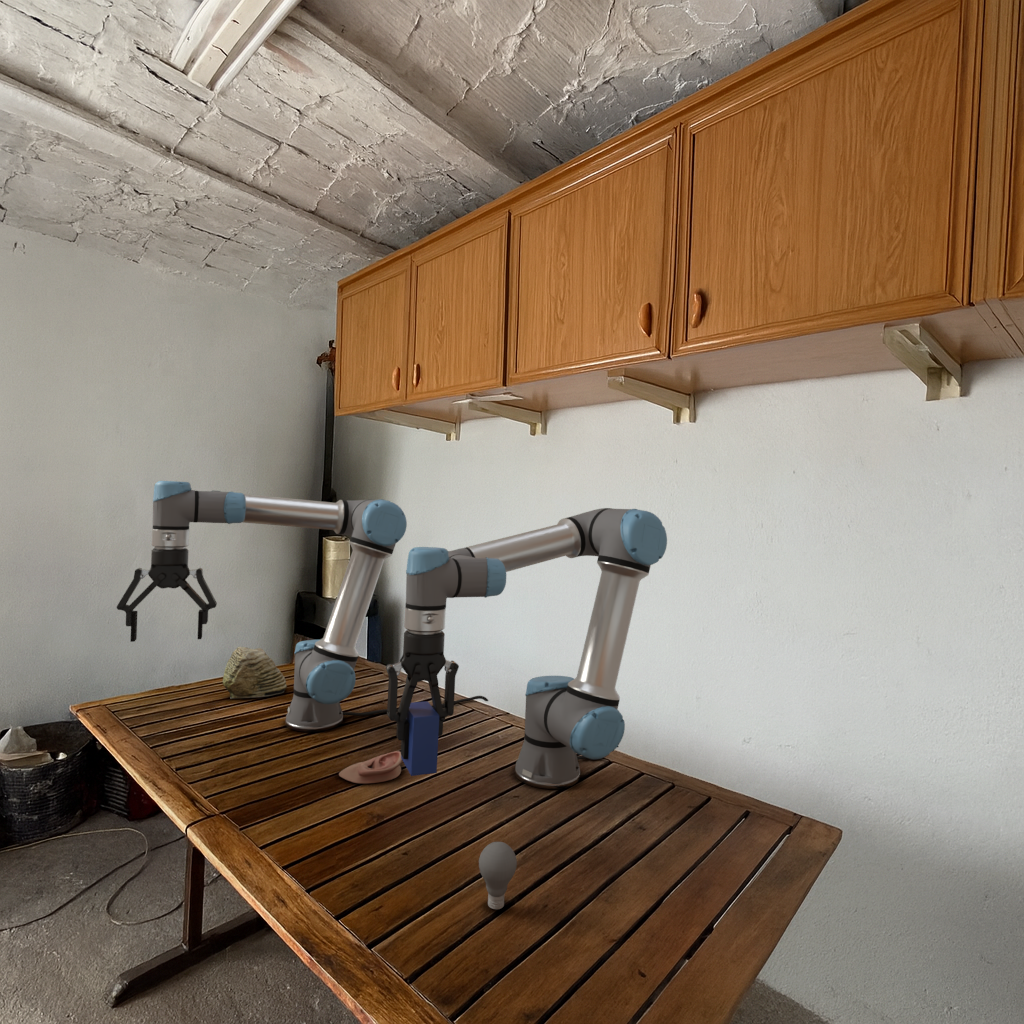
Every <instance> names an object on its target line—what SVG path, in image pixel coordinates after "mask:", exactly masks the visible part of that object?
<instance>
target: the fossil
mask: <svg viewBox="0 0 1024 1024" xmlns="http://www.w3.org/2000/svg"><path fill="white" fill-rule="evenodd" d="M222 676H223V677H222V685H223V687H224V688H225V690H226V691H228V693H229V698H230V699H250V698H264V697H271V696H275V695H281V694H284V693H285V691H286V689H287V687H288V686H287V680H286V678H285V676H284V674H283V673H282V672H281V669H279V668H278V667H277V665H276V663H275V662H274V660H273V659H272V658H271V657H270V656H269V655H268V654H267V653H266V652H265V650H264V649H263V648H260V647H258V648H251V647H247V646H246V647H245V646H238V647H237V648H236V649H235V650H233V651H232V653H231V656H230V657H229V659H228V660H227V663H226V666H225V668H224V671H223V675H222Z"/></svg>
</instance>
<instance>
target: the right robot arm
mask: <svg viewBox="0 0 1024 1024" xmlns="http://www.w3.org/2000/svg"><path fill="white" fill-rule="evenodd" d="M667 545H668V535H667V530H666V528H665V526H663V522H662V520H661V519H660V518H659V517H658V516H657V515H656V514H654V513H653V512H651V511H648V510H642V509H638V508H611V507H603V508H596V509H593V510H589V511H585V512H582V513H578V514H575V515H572V516H568V517H564V518H561V519H559V520H558V522H557V524H553V525H549V526H545V527H540V528H537V529H534V530H533V529H532V530H529V531H526V532H521V533H517V534H513V535H509V536H506V537H505V536H504V537H502V538H497V539H493V540H489V541H486V542H482V543H481V542H480V543H477V544H473V545H468V546H466V547H462V548H461V547H460V548H457V549H453V550H452V549H451V550H448V549H446V548H444V547H437V546H416V547H412V548H410V550H409V552H408V555H407V561H406V570H405V574H406V576H405V577H406V581H405V582H406V583H405V608H404V625H403V626H404V629H406V630H405V631H404V632H403V645H402V656H401V657H400V659H399V661H398V662H395V663H388V664H386V665H385V670H386V672H387V676H388V685H387V704H386V705H387V706H386V709H387V713H386V715H387V717H388V719H389V720H390V721H391V722H396V730H395V731H396V733H395V736H396V738H397V739H398V741H400V752H401V755H402V757H403V759H408V746H409V725H410V724H409V722H408V721H407V719H406V718H407V714H408V711H409V707H410V704H411V703H412V700H413V696H414V693H415V689H416V687H417V686H418V683H420V682H423V681H424V682H427V683H428V687H429V692H430V697H431V702H432V706H433V708H434V710H435V711H436V712H437V713H438V714H439V734H438V737H442V736H443V733H444V722H445V720H446V718H447V717H452V716H453V715H454V713H455V711H454V710H455V704H454V701H455V690H456V676H457V673H458V671H459V669H460V667H459V663H457V662H456V661H455V660H448V659H447V658H446V657H445V652H444V651H445V633H444V629H445V628H446V609H447V599H448V598H449V599H455V598H489V597H496V596H499V595H501V594H502V593H503V591H505V588H506V585H507V573H508V572H511V571H516V570H518V569H522V568H526V567H530V566H533V565H537V564H540V563H545V562H548V561H552V560H555V559H558V558H562V557H566V558H568V559H575V558H578V557H579V558H580V557H586V556H587V557H591V556H592V557H597V561H596V564H597V565H598V567H599V569H600V571H601V572H600V578H599V582H598V585H597V589H596V590H597V591H596V594H595V598H594V603H593V606H592V607H593V608H592V611H591V614H590V619H589V624H588V628H587V632H586V637H585V640H584V644H583V649H582V653H581V657H580V661H579V666H578V670H577V674H576V677H575V678H574V677H571V676H568V675H567V676H566V675H540V676H536V677H532V678H530V680H528V682H527V685H526V690H525V713H524V734H523V735H524V740H523V743H522V746H521V748H520V751H519V754H518V756H517V760H516V762H515V767H514V774H515V777H516V778H517V779H518V780H519V781H520V782H522V783H524V784H526V785H528V786H531V787H534V788H539V789H545V790H557V789H559V790H560V789H565V788H569V787H572V786H574V785H576V784H577V783H579V781H580V778H581V768H580V763H579V761H581V760H594V761H595V760H601V759H604V758H605V757H608V756H609V755H610V754H611V752H614V751H616V749H617V748H619V747H620V746H619V745H620V744H621V742H622V739H623V737H624V735H625V729H626V723H625V720H624V719H623V718H624V717H623V714H622V713H621V712H620V710H619V704H620V700H621V697H620V694H619V693H618V691H617V689H616V686H617V681H618V677H619V673H620V668H621V664H622V660H623V655H624V651H625V647H626V642H627V640H628V639H627V638H628V634H629V629H630V625H631V620H632V617H633V613H634V609H635V604H636V600H637V595H638V592H639V586H640V582H641V581H642V580H643V579H645V578H646V577H648V576H649V574H650V569H651V566H652V565H654V564H657V563H658V562H660V560H661V559H662V558H663V557H664V555H665V554H666V551H667ZM443 668H444V671H445V677H444V698H443V699H444V701H443V702H442V696H441V692H440V687H439V678H438V675H439V673H440V672H441V671H442V669H443ZM402 669H403V671H404V672H405V674H406V678H405V684H404V688H403V692H402V696H401V699H400V702H399V706H398V690H399V689H398V688H399V686H398V685H399V679H398V676H400V675H401V670H402ZM442 704H444V707H442ZM397 709H398V712H396V711H397Z"/></svg>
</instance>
